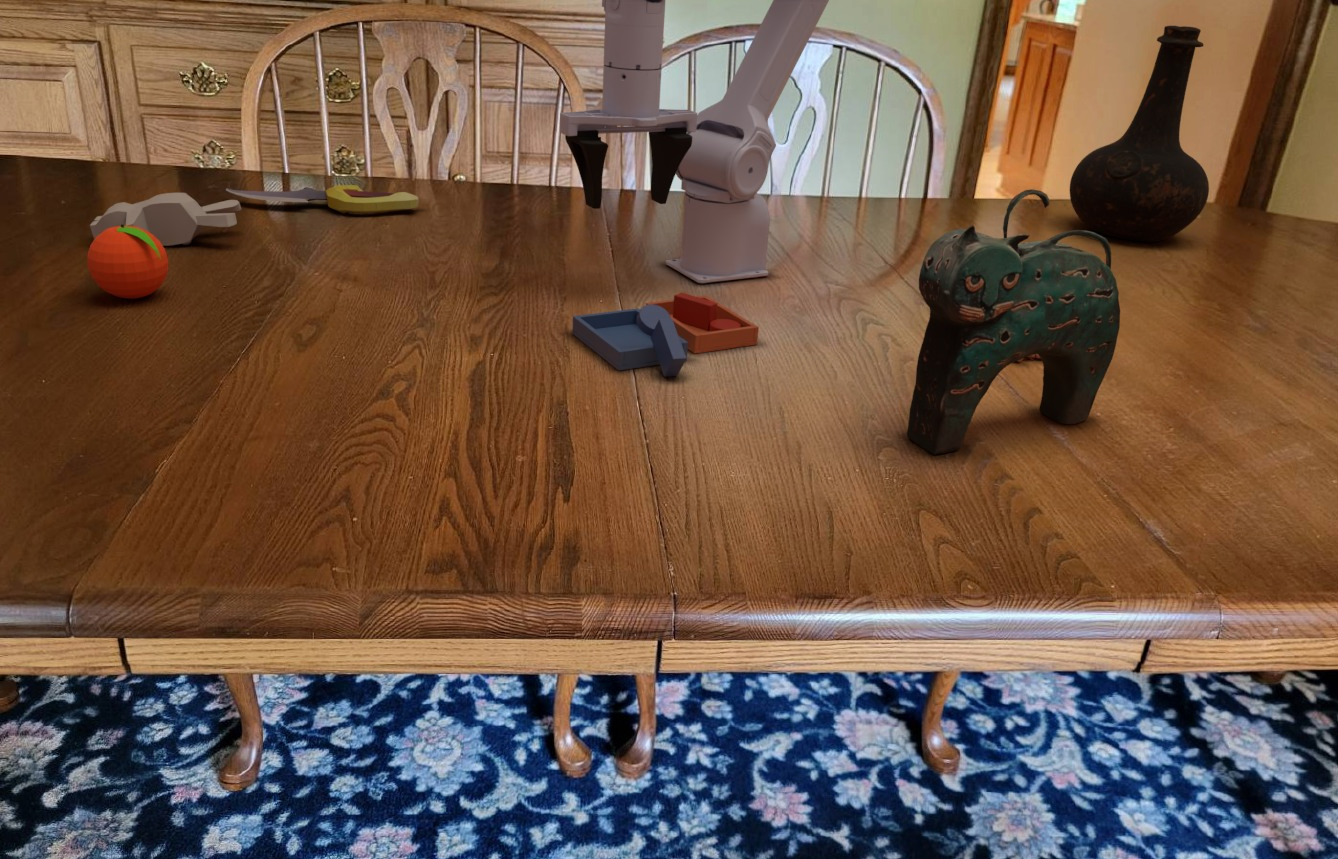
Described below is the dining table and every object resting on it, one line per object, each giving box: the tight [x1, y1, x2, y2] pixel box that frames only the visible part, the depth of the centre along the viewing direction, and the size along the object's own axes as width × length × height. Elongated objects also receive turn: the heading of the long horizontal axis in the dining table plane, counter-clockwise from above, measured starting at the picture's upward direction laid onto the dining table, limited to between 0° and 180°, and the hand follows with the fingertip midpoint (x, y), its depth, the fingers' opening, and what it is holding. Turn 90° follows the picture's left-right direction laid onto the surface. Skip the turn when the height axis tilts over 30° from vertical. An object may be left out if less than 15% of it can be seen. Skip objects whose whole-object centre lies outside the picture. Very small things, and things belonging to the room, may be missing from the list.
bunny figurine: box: [89, 192, 242, 247], centre depth 118 cm, size 10×5×15 cm
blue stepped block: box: [637, 304, 688, 378], centre depth 93 cm, size 7×3×3 cm
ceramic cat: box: [906, 188, 1121, 456], centre depth 82 cm, size 20×6×20 cm, turn 117°
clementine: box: [87, 224, 169, 300], centre depth 100 cm, size 8×7×7 cm
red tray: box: [645, 295, 760, 354], centre depth 103 cm, size 7×10×2 cm
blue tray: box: [572, 307, 688, 372], centre depth 98 cm, size 7×10×2 cm
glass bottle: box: [1069, 25, 1210, 243], centre depth 145 cm, size 18×18×28 cm
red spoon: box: [673, 292, 741, 332], centre depth 103 cm, size 7×3×3 cm, turn 53°
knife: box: [225, 184, 419, 214], centre depth 136 cm, size 8×3×25 cm
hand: (626, 204), depth 109 cm, fingers open, 7 cm apart
